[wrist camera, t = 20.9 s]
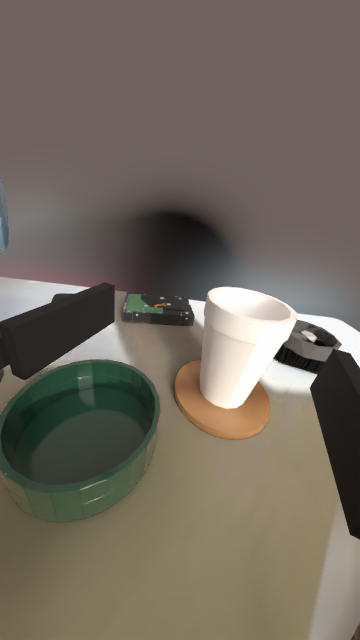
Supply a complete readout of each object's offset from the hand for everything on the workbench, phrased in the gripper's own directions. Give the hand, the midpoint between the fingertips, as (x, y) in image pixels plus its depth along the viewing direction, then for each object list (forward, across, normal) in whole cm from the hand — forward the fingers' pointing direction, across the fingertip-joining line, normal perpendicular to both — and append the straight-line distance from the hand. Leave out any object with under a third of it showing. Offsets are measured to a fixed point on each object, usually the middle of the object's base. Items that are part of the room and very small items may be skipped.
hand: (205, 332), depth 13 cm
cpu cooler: (+29, +15, -16) cm, 36 cm away
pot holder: (+12, +2, -15) cm, 20 cm away
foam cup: (+12, +3, -15) cm, 19 cm away
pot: (-1, -9, -15) cm, 18 cm away
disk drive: (+29, -15, -16) cm, 36 cm away
